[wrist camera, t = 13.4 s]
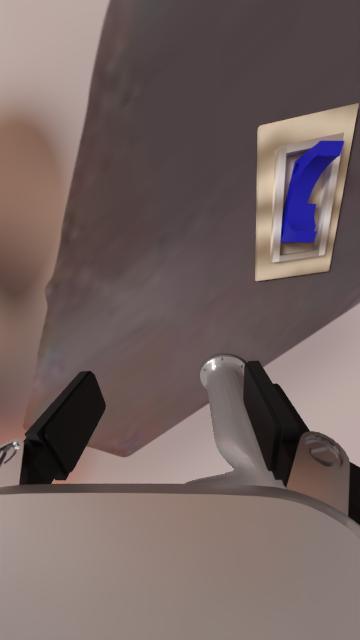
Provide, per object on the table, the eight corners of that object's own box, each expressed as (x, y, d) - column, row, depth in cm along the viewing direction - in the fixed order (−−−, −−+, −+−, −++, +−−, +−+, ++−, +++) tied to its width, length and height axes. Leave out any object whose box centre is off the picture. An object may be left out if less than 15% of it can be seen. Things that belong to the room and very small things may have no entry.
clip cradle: (325, 270, 35) (335, 272, 33) (255, 280, 36) (259, 282, 34) (353, 107, 26) (369, 94, 23) (257, 129, 27) (263, 118, 25)
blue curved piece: (300, 243, 32) (323, 242, 27) (276, 242, 33) (294, 241, 27) (322, 161, 28) (356, 140, 22) (294, 161, 28) (320, 140, 22)
